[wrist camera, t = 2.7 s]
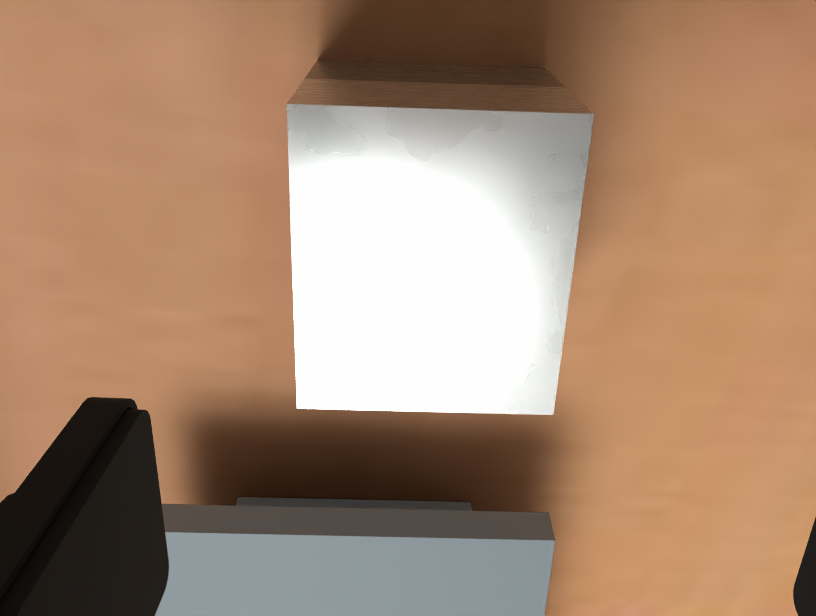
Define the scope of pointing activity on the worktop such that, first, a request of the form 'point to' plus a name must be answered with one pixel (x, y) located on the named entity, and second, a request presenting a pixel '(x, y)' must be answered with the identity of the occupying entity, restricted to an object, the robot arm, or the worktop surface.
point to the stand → (354, 559)
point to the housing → (433, 235)
